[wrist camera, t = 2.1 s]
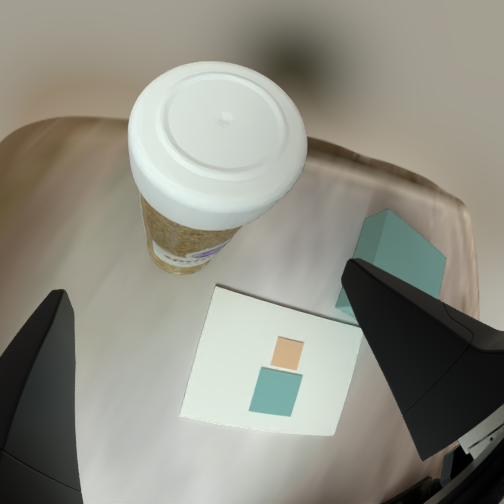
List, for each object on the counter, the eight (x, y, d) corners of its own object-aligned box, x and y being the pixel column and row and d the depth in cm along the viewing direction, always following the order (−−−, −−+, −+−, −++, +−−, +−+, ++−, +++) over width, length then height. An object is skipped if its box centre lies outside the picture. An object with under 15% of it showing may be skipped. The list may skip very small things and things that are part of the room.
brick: (401, 342, 23) (425, 344, 20) (335, 306, 21) (359, 306, 19) (423, 262, 25) (446, 257, 22) (365, 218, 24) (388, 208, 21)
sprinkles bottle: (176, 290, 18) (210, 255, 6) (133, 234, 18) (91, 103, 5) (230, 245, 20) (345, 147, 7) (187, 193, 20) (236, 37, 7)
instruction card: (332, 434, 20) (334, 436, 19) (179, 415, 17) (179, 416, 17) (362, 328, 22) (364, 328, 22) (215, 286, 19) (216, 286, 19)
